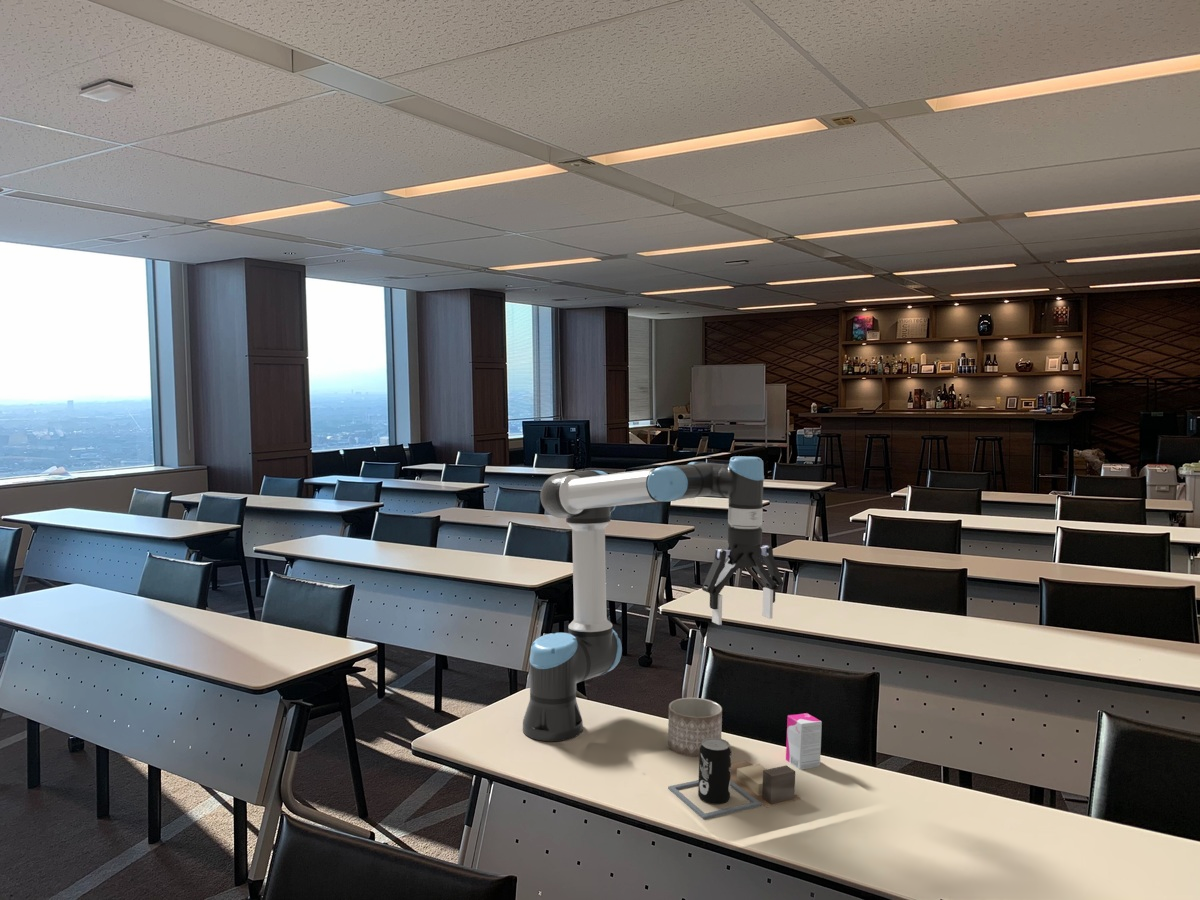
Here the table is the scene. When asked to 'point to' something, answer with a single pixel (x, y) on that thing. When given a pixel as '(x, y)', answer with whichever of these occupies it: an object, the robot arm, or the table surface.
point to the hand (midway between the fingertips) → (742, 620)
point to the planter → (693, 724)
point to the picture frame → (720, 812)
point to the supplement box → (803, 741)
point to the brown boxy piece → (771, 784)
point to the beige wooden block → (752, 777)
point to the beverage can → (714, 771)
